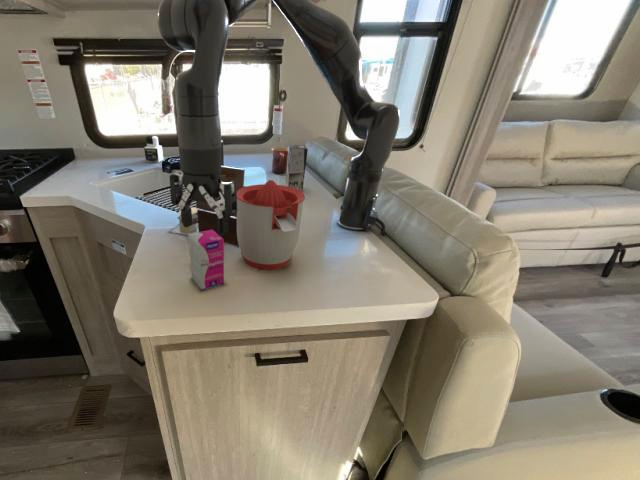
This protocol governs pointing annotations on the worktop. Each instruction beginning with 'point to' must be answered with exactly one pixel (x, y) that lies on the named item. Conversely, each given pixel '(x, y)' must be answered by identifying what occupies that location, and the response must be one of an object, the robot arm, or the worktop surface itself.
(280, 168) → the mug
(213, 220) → the chest
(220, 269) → the supplement box
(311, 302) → the worktop surface
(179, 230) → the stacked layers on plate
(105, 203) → the worktop surface
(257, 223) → the citrus juicer
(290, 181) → the coffee box
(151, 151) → the medicine bottle
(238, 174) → the lid
